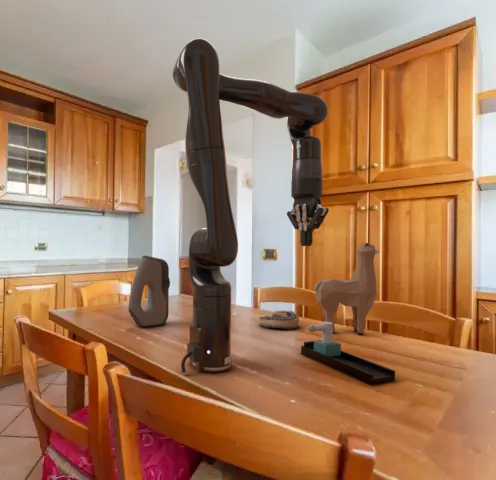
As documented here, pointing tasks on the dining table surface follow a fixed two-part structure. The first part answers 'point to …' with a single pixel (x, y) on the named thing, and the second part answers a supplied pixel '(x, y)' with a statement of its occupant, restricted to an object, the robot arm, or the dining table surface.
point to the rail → (351, 365)
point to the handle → (326, 340)
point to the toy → (350, 290)
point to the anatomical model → (280, 320)
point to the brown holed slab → (150, 292)
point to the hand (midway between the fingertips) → (306, 246)
